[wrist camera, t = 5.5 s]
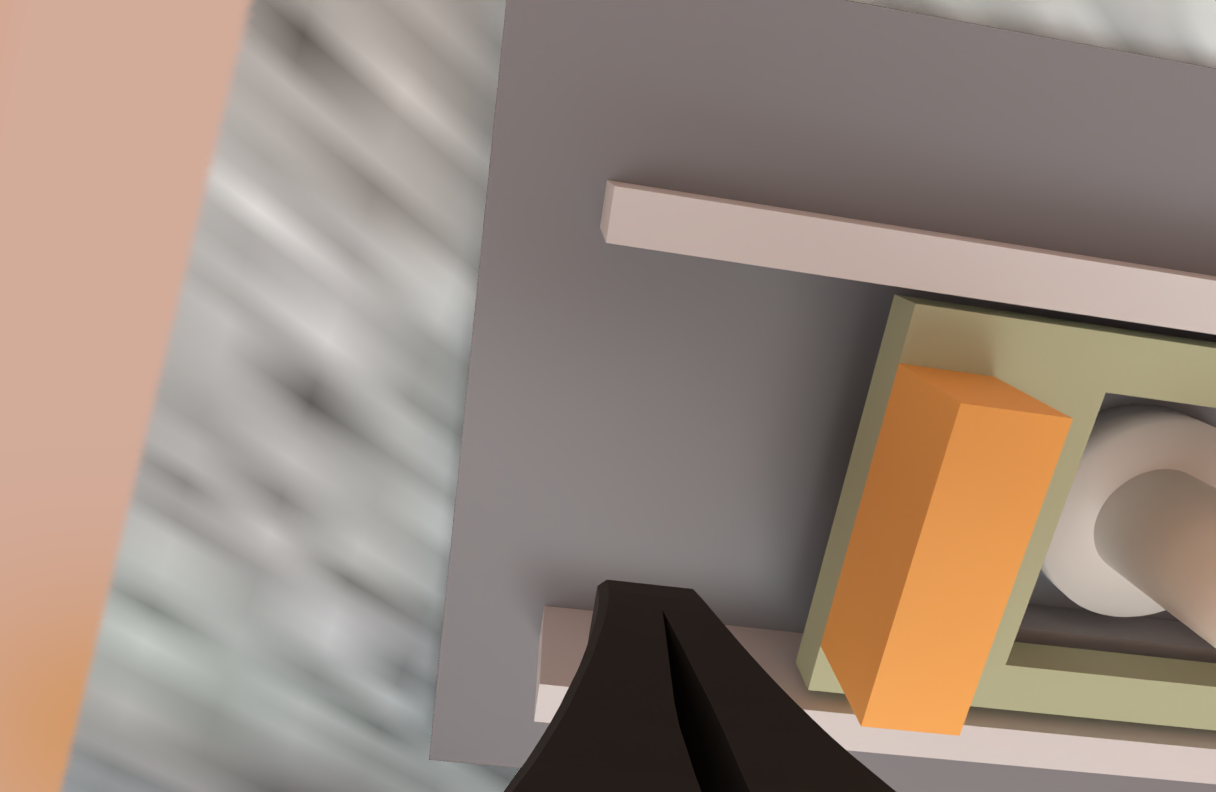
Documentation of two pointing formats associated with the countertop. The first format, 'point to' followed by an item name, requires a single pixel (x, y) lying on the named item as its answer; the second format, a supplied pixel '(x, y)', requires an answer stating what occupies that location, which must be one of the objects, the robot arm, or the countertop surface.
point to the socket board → (789, 333)
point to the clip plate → (1078, 396)
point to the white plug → (1142, 519)
